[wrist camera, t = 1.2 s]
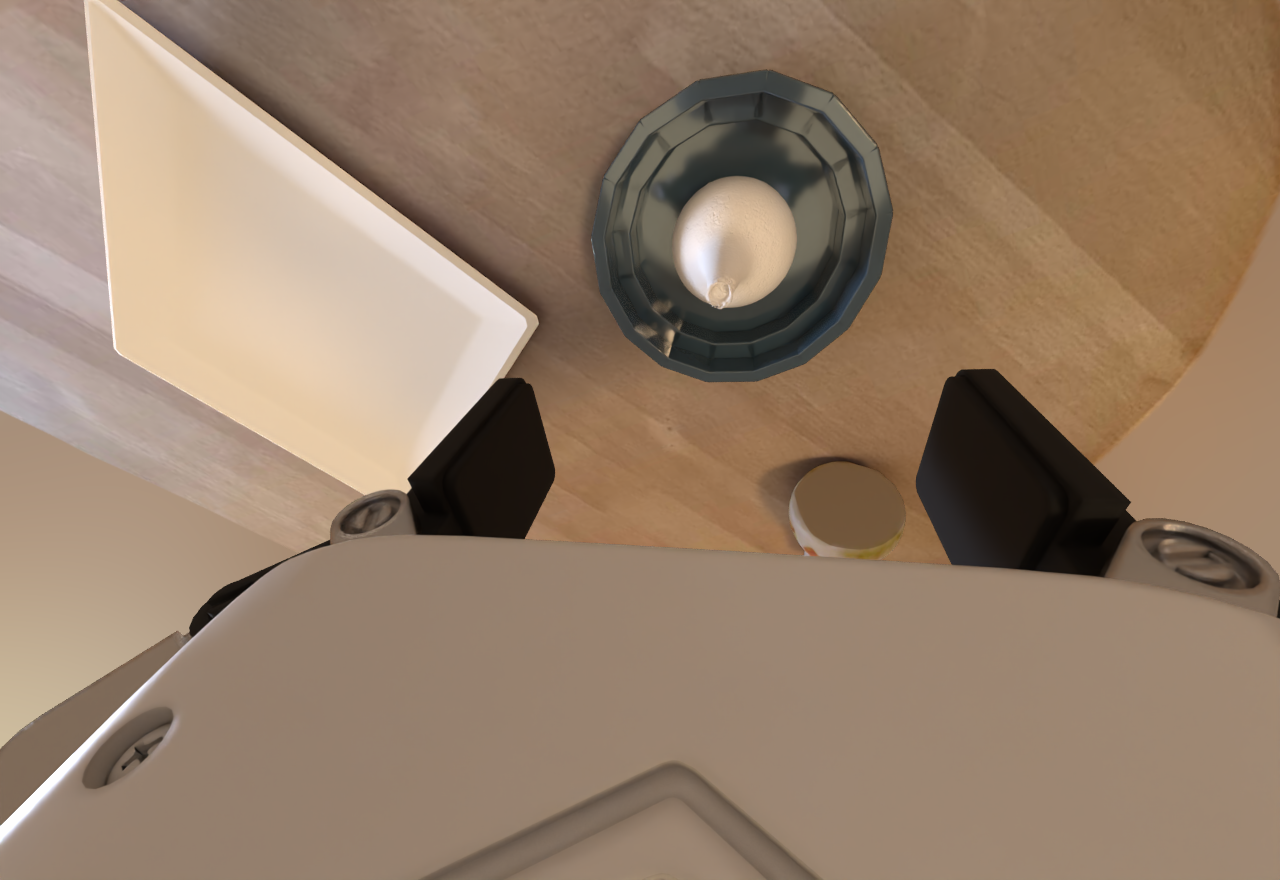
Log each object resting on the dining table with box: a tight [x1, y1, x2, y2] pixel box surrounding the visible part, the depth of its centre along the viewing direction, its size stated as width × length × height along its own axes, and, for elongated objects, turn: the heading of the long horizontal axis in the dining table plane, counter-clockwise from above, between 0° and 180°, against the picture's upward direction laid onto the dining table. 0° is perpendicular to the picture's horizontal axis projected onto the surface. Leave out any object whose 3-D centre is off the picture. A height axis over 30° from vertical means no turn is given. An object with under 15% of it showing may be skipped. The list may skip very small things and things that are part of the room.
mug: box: [789, 461, 906, 560], centre depth 32 cm, size 8×10×10 cm
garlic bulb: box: [672, 176, 797, 309], centre depth 22 cm, size 6×6×8 cm
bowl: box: [591, 69, 893, 382], centre depth 23 cm, size 14×14×4 cm
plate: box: [84, 0, 539, 495], centre depth 33 cm, size 26×26×2 cm
